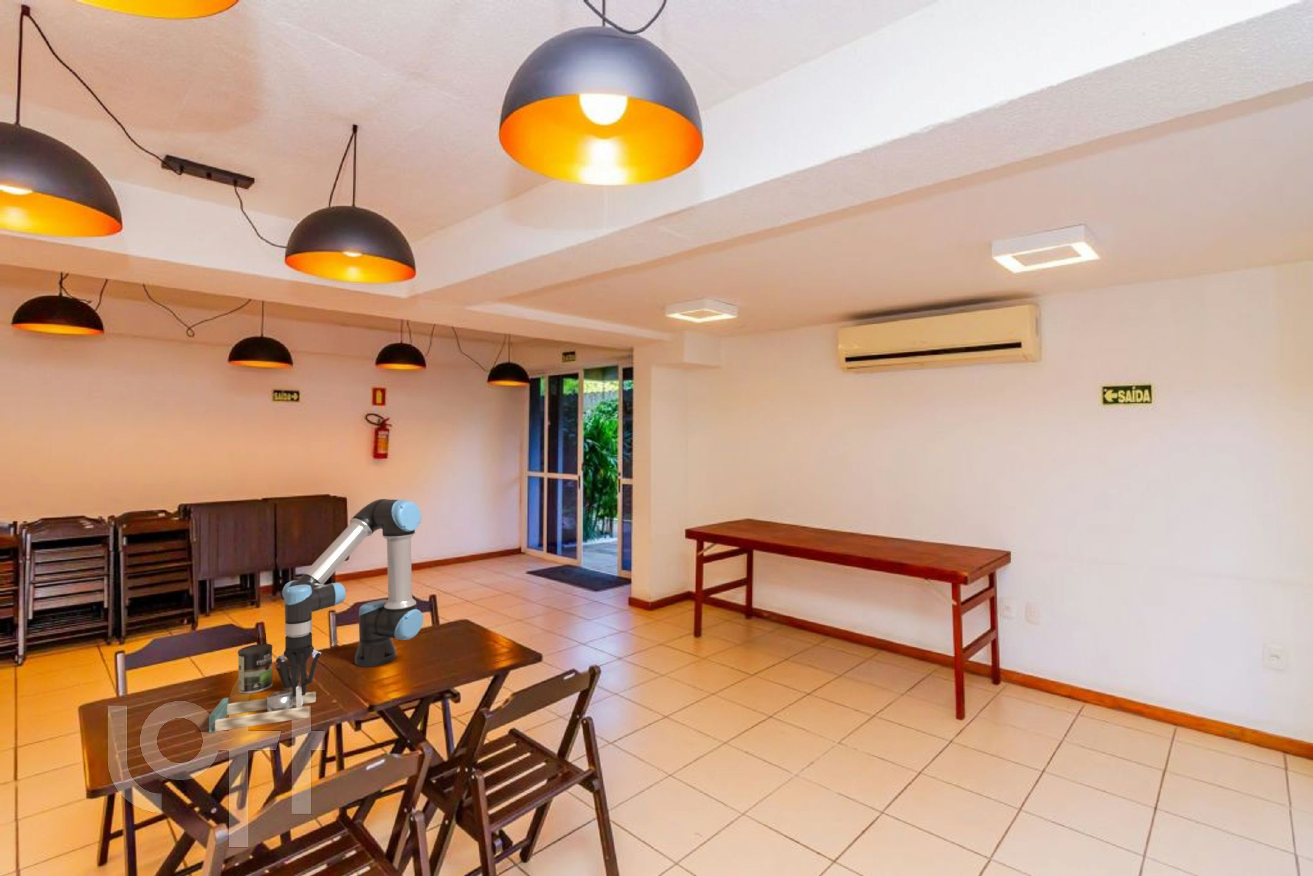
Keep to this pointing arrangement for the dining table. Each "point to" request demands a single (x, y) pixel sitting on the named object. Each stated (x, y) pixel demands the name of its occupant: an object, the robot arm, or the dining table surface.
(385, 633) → the robot arm
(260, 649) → the coffee can
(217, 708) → the channel
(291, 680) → the cup
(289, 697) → the keeper
